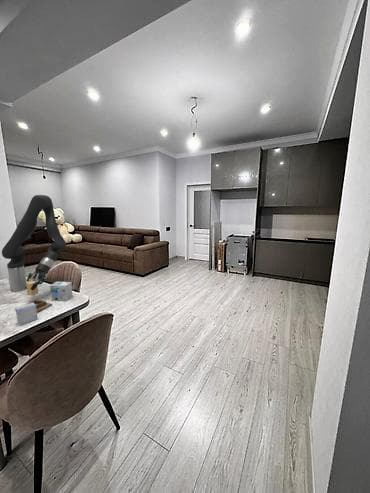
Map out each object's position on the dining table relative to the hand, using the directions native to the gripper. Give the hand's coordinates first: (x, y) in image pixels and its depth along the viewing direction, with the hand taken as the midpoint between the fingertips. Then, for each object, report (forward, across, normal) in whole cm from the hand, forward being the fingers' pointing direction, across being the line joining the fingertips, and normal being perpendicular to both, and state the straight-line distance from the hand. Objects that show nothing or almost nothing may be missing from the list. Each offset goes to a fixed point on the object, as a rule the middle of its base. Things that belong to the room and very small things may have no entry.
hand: (29, 289), depth 124 cm
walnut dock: (+10, +10, +3) cm, 15 cm away
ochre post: (+2, 0, +4) cm, 5 cm away
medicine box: (+18, +19, -5) cm, 27 cm away
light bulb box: (-1, +14, +14) cm, 20 cm away
